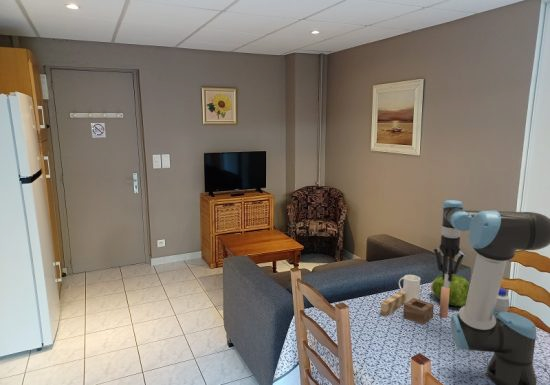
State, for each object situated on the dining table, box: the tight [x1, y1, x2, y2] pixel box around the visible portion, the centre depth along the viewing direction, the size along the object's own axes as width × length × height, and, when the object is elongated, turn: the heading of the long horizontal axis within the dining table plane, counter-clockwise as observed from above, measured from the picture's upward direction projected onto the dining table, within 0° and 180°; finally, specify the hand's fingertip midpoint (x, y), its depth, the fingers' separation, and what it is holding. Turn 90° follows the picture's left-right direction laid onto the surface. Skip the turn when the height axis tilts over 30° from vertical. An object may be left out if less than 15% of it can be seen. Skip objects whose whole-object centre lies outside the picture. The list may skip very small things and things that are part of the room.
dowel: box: [438, 286, 450, 319], centre depth 186 cm, size 4×4×14 cm
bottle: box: [493, 288, 510, 318], centre depth 170 cm, size 7×7×20 cm
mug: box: [398, 274, 421, 303], centre depth 205 cm, size 12×8×12 cm
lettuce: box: [430, 274, 470, 307], centre depth 201 cm, size 16×21×15 cm
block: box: [402, 298, 435, 325], centre depth 185 cm, size 10×10×6 cm
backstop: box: [380, 290, 407, 317], centre depth 193 cm, size 20×3×6 cm, turn 136°
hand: (446, 287), depth 174 cm, fingers closed
